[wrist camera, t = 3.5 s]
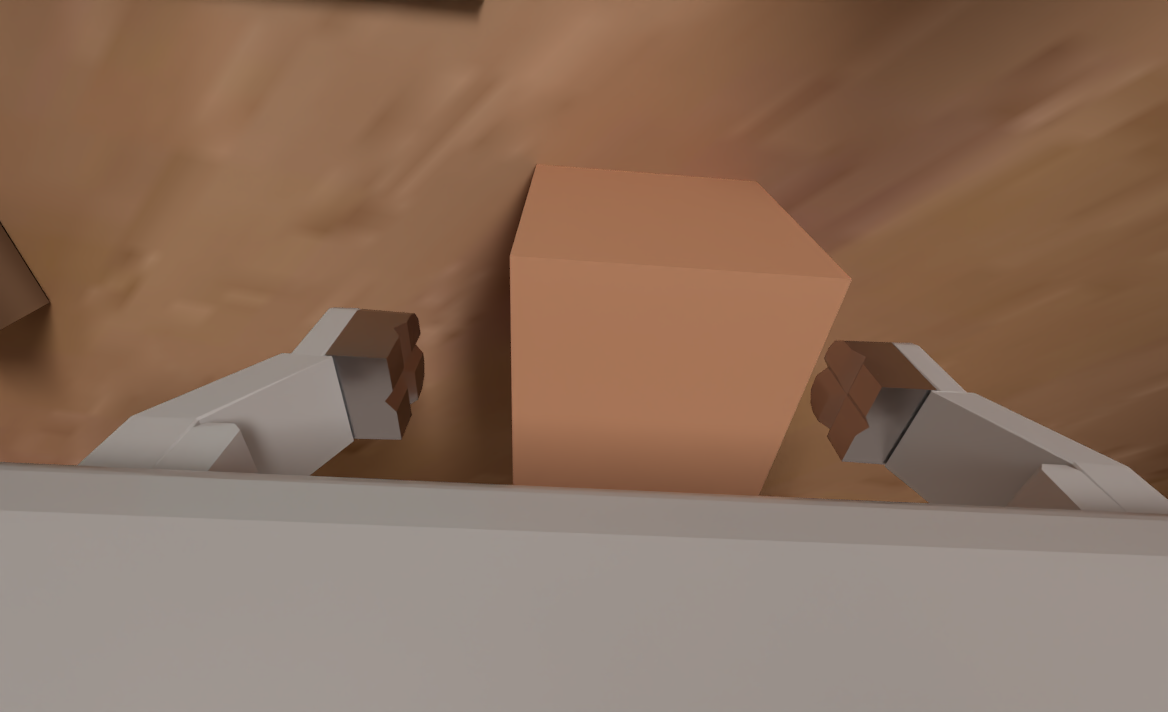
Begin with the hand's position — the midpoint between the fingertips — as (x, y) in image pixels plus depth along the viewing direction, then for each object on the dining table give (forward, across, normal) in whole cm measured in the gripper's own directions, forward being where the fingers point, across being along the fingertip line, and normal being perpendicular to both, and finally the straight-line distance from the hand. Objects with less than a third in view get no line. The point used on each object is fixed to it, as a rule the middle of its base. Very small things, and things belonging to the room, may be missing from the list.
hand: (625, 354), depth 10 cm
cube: (+4, 0, 0) cm, 4 cm away
